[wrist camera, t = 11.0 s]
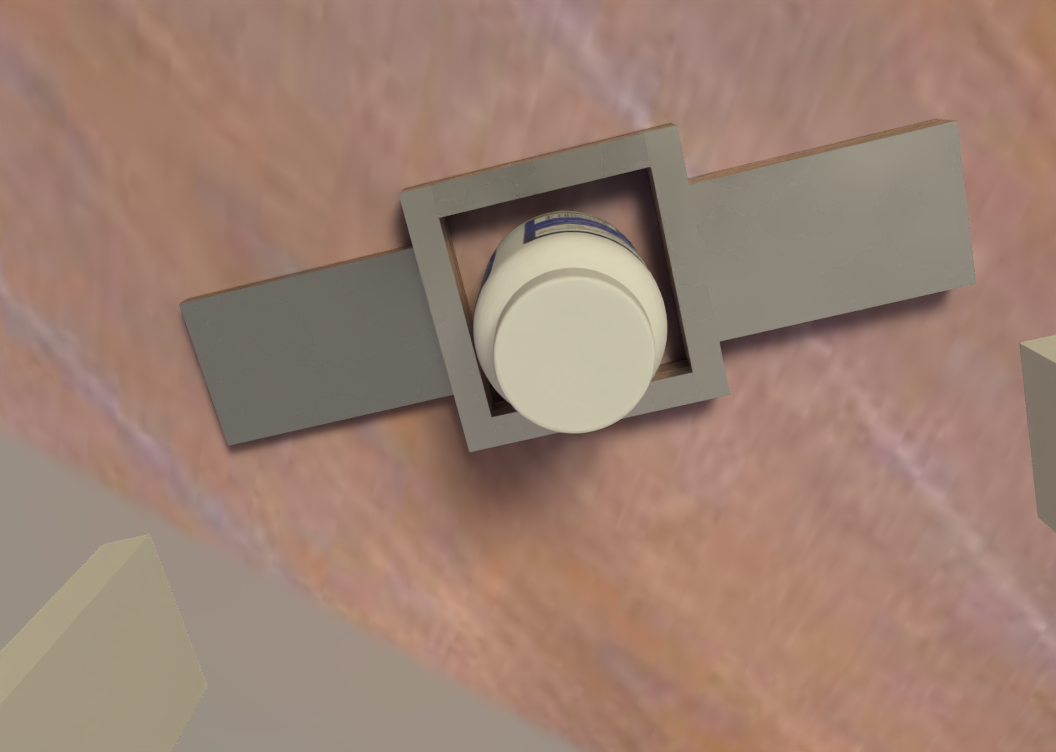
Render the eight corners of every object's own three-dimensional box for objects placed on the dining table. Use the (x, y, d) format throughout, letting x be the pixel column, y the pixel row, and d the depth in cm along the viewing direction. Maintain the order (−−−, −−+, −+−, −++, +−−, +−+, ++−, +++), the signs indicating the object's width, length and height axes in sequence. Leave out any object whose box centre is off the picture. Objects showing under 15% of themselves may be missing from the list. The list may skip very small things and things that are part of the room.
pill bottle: (565, 398, 34) (572, 502, 25) (451, 291, 33) (418, 362, 24) (679, 286, 33) (727, 355, 24) (564, 173, 32) (572, 203, 23)
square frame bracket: (251, 485, 35) (237, 503, 33) (169, 246, 32) (150, 254, 31) (962, 326, 33) (982, 338, 31) (929, 59, 30) (949, 58, 29)
